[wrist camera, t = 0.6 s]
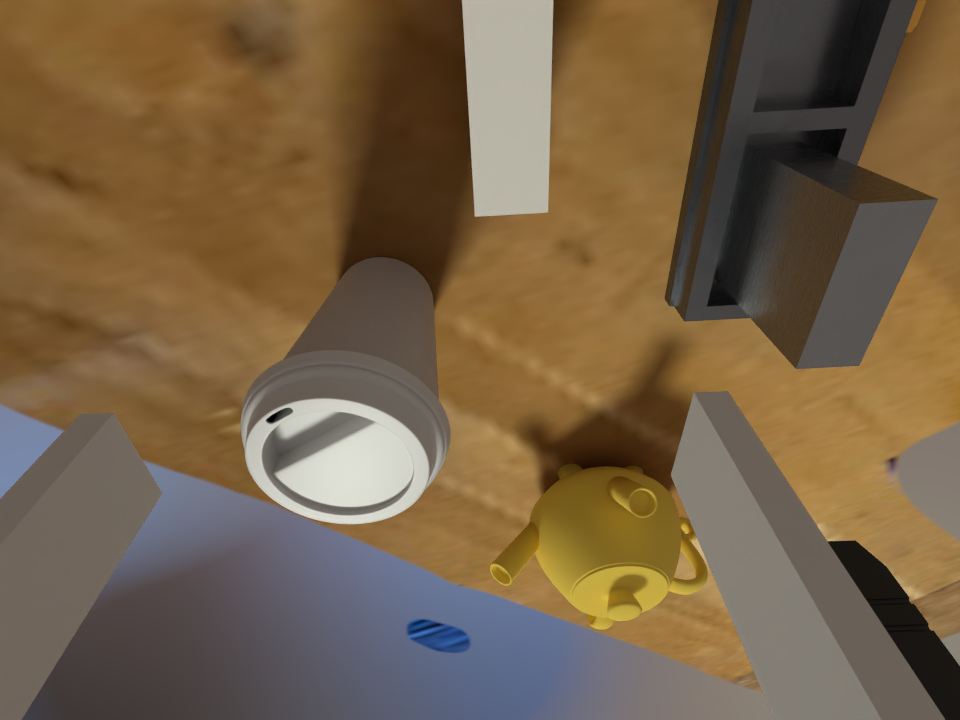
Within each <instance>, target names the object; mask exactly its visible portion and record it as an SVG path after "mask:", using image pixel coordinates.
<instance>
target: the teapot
mask: <svg viewBox="0 0 960 720" xmlns="http://www.w3.org/2000/svg"><path fill="white" fill-rule="evenodd" d="M557 475H558V477H559V479H560V480H559V481H557V482H556V483H555V484H553V485H552V486H551V487H550V488H549V489H548V490H547V491H546V492H545V493H544V494H543V495H542V496H541V498H540V499H539V500H538V502H537V503H536V504H535V506H534V508H533V510H532V513H531V517H530V520H529V525H528V526H527V527H526V528H525V529H524V530H523V531H522V532H521V533H520V534H519V535H518V536H517V537H516V538H515V539H514V541H513V542H512V543H511V544H510V545H509V546H508V547H507V548H506V549H505V550H504V551H503V552H502V553H501V554H500V555H499V556H498V557H497V559H496V560H495V561H494V562H493V563H492V564H491V565H490V572H491V574H492V576H493V577H494V578H495V579H496V580H497V581H498V582H499V583H501V584H503V585H506V586H507V585H510V584H511V583H512V581H513V580H514V579H515V578H516V576H517V575H518V574H519V573H520V571H521V570H522V569H523V568H524V566H525V565H526V564H527V563H528V561H529V560H530V559H531V558H532V556H533V555H534V554H535V555H536V557H537V559H538V562H539V563H540V565H541V567H542V569H543V570H544V572H545V574H546V575H547V576H548V578H549V579H550V580H551V582H552V583H553V584H554V585H555V586H556V588H557V589H558V590H559V591H560V592H561V593H562V594H563V595H564V596H565V598H566V599H567V600H568V601H569V602H570V603H571V604H573V605H574V606H575V607H576V608H577V609H578V610H580V611H582V612H584V613H586V617H587V620H588V623H589V624H590V626H592V627H593V628H596V629H607V628H609V627H611V626H612V624H613V622H614V620H616V621H627V620H631V619H634V618H636V617H638V616H639V615H640V614H641V613H642V612H645V611H647V610H649V609H651V608H653V607H654V606H656V605H657V604H658V603H659V602H661V601H662V599H663V598H664V597H665V596H666V594H667V593H668V591H671V592H674V593H677V594H683V595H684V594H692V593H695V592H697V591H698V590H700V589H701V588H702V587H703V586H704V584H705V583H706V580H707V575H708V573H707V567H706V565H705V562H704V560H703V558H702V557H701V555H700V554H699V552H698V551H697V549H696V548H695V547H694V545H693V544H692V543H691V542H692V541H694V540H695V539H696V537H697V536H696V534H695V532H694V529H693V527H692V525H691V522H690V520H689V519H687V518H684V517H679V513H678V510H677V507H676V504H675V501H674V499H673V497H672V495H671V494H670V493H669V492H668V490H667V489H666V488H665V487H664V486H663V485H661V484H660V483H659V482H657V481H656V480H654V479H653V478H651V477H648V476H646V475H644V474H643V470H642V469H641V468H640V467H638V466H628V467H625V468H620V467H611V466H604V467H593V468H587V469H583V470H582V468H581V467H580V466H579V465H577V464H566V465H564V466H562V467H560V468H559V470H558V472H557ZM683 530H684V531H686V532H687V533H688V534H685V533H684V532H683ZM680 549H681V551H682V552H683V553H684V555H685V556H686V558H687V559H688V560H689V562H690V564H691V565H692V567H693V569H694V571H695V574H696V578H695V579H691V580H682V579H677V578H674V574H675V571H676V567H677V564H678V559H679V554H680Z"/></svg>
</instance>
